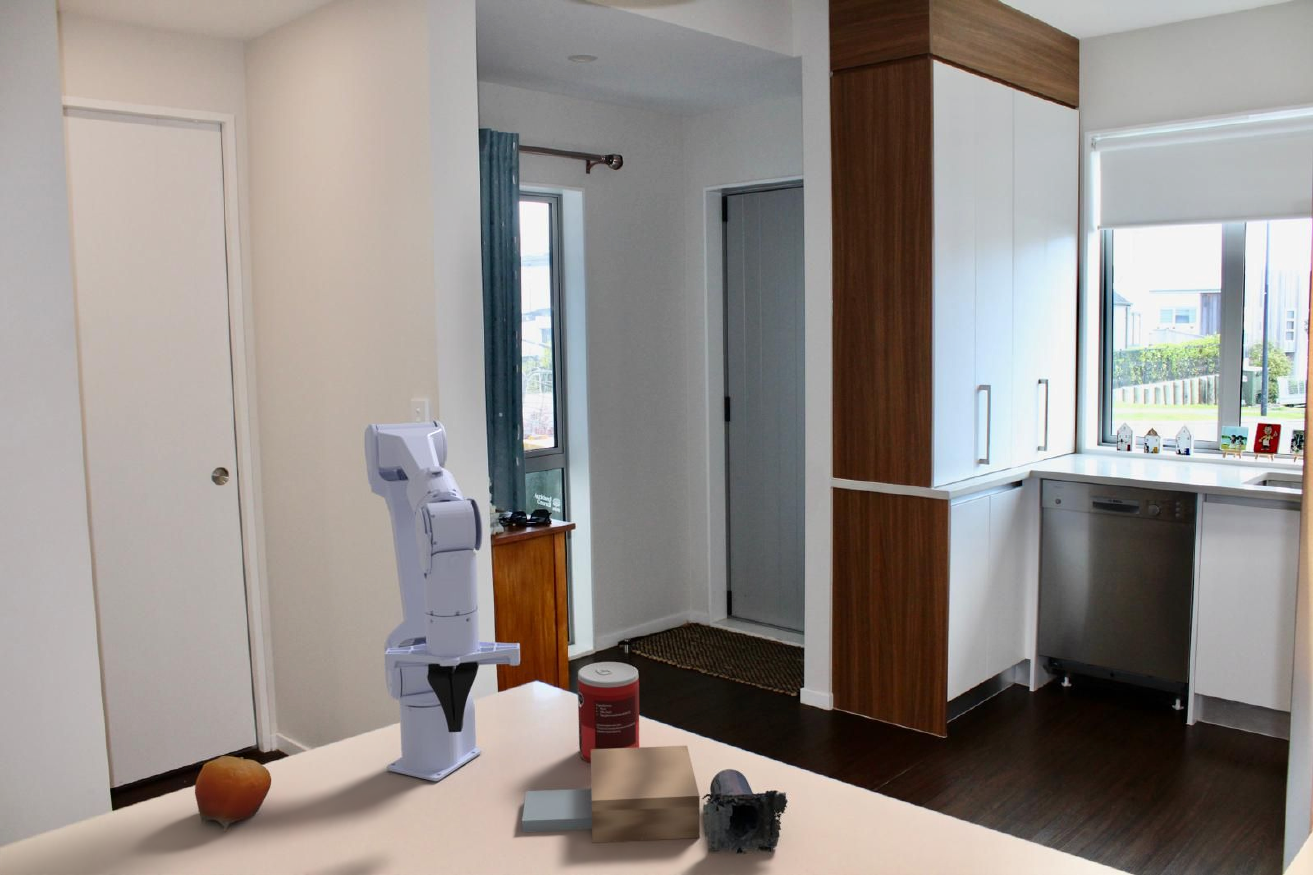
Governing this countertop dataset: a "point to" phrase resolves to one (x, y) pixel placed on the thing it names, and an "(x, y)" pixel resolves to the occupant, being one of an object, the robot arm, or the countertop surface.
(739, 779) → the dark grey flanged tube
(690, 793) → the brown wooden block
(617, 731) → the canned food
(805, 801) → the countertop surface
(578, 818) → the tile
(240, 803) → the fruit
